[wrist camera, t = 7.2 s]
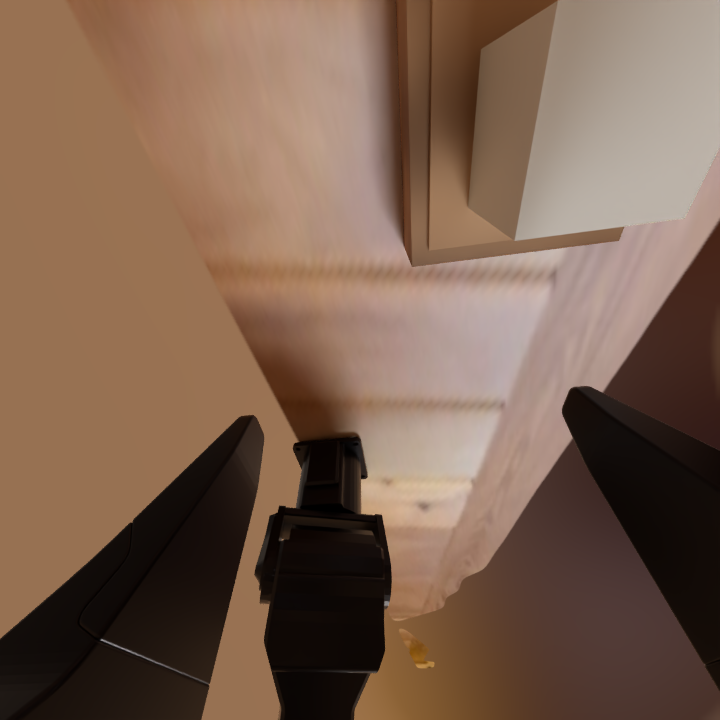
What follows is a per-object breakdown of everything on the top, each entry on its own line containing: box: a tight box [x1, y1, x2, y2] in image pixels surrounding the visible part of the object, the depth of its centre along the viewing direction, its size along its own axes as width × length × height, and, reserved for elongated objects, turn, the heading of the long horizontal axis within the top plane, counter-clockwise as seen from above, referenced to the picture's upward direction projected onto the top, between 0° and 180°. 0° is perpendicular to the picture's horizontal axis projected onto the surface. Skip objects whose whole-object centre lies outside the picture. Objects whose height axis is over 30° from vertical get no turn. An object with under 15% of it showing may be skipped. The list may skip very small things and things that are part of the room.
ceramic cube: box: [468, 0, 720, 241], centre depth 10 cm, size 5×5×5 cm
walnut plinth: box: [396, 0, 624, 267], centre depth 13 cm, size 10×10×3 cm
